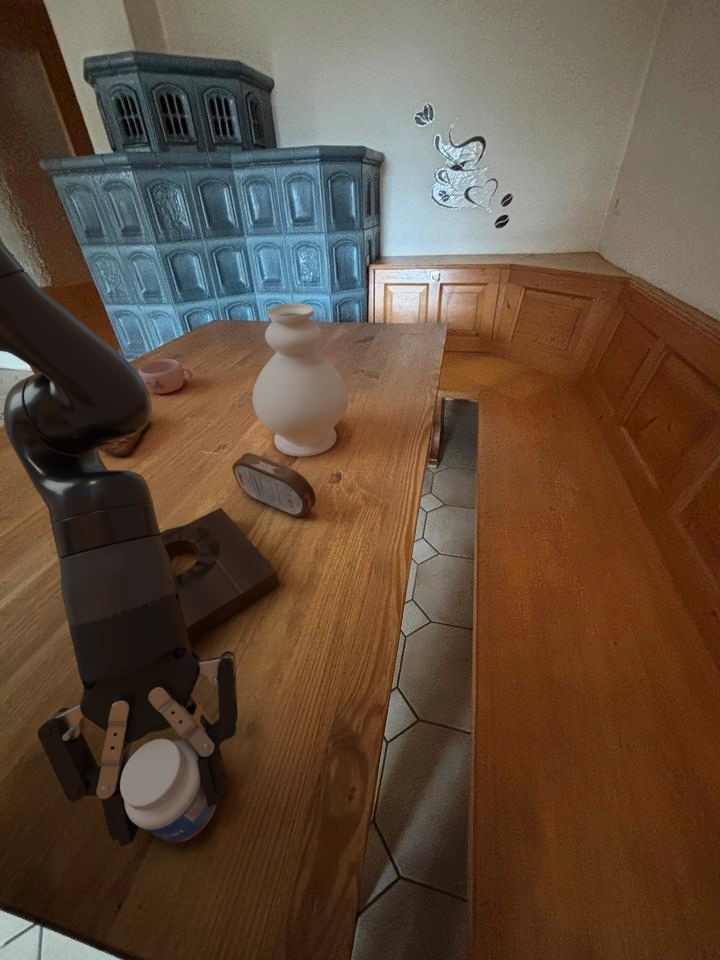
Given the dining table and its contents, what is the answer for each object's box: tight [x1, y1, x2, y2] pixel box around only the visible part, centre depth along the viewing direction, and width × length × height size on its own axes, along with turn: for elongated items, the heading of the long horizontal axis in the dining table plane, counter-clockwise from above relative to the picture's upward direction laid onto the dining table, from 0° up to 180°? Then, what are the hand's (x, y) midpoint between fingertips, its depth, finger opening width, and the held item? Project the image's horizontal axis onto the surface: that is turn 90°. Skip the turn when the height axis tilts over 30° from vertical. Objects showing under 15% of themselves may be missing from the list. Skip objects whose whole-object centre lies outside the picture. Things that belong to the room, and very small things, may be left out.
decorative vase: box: [251, 302, 349, 458], centre depth 70 cm, size 18×18×25 cm
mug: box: [137, 358, 193, 394], centre depth 95 cm, size 12×10×6 cm
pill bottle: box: [120, 738, 218, 843], centre depth 30 cm, size 6×5×10 cm
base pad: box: [159, 507, 280, 645], centre depth 50 cm, size 18×17×3 cm
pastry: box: [99, 421, 150, 457], centre depth 78 cm, size 17×15×8 cm
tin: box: [231, 452, 317, 518], centre depth 60 cm, size 15×3×8 cm, turn 59°
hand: (174, 815), depth 30 cm, fingers closed on pill bottle, 5 cm apart
